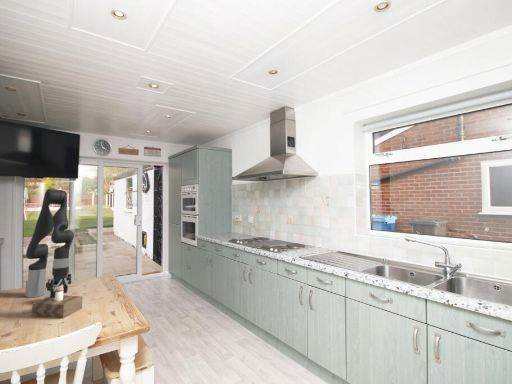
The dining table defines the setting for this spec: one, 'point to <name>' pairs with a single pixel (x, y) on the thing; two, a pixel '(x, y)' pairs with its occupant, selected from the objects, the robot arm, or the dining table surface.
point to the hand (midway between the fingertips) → (58, 295)
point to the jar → (47, 293)
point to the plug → (59, 294)
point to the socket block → (57, 307)
